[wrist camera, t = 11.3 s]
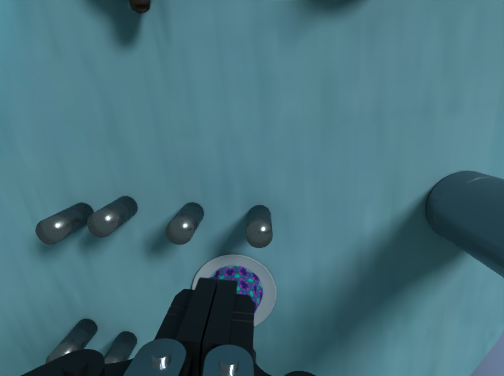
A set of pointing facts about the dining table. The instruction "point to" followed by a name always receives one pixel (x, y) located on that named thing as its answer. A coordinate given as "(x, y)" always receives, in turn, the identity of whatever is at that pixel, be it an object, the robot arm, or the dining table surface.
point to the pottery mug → (140, 5)
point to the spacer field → (108, 222)
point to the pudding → (244, 281)
